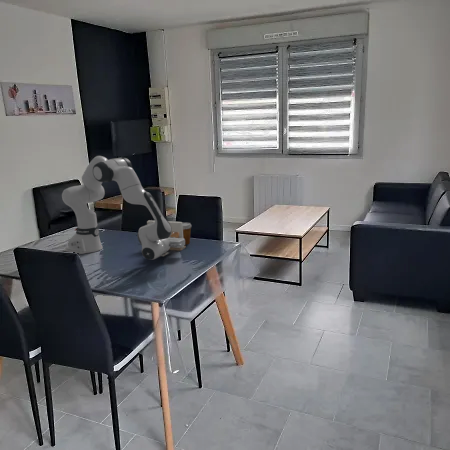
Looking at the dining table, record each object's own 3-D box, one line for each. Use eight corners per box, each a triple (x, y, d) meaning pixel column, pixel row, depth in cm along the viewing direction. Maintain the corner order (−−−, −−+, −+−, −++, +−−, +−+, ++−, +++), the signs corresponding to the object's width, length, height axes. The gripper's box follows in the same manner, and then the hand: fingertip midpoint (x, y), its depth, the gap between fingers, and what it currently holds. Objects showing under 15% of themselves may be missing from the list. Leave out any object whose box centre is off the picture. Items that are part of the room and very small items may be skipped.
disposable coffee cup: (188, 245, 253) (187, 226, 250) (174, 244, 256) (173, 225, 253) (194, 241, 262) (193, 222, 259) (180, 240, 265) (179, 222, 262)
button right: (170, 240, 244) (169, 234, 243) (175, 237, 250) (174, 231, 249) (176, 240, 243) (175, 234, 242) (180, 237, 249) (180, 231, 248)
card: (145, 254, 240) (145, 253, 239) (150, 251, 245) (150, 250, 245) (164, 256, 236) (164, 255, 236) (168, 253, 241) (168, 252, 241)
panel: (147, 248, 252) (144, 222, 248) (152, 244, 258) (150, 219, 254) (180, 250, 245) (179, 223, 241) (185, 247, 251) (184, 221, 247)
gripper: (179, 240, 226) (189, 233, 239) (145, 238, 233) (156, 231, 245) (179, 251, 228) (189, 244, 241) (146, 249, 234) (157, 242, 247)
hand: (172, 237), depth 243 cm, fingers closed, pressing on button right
